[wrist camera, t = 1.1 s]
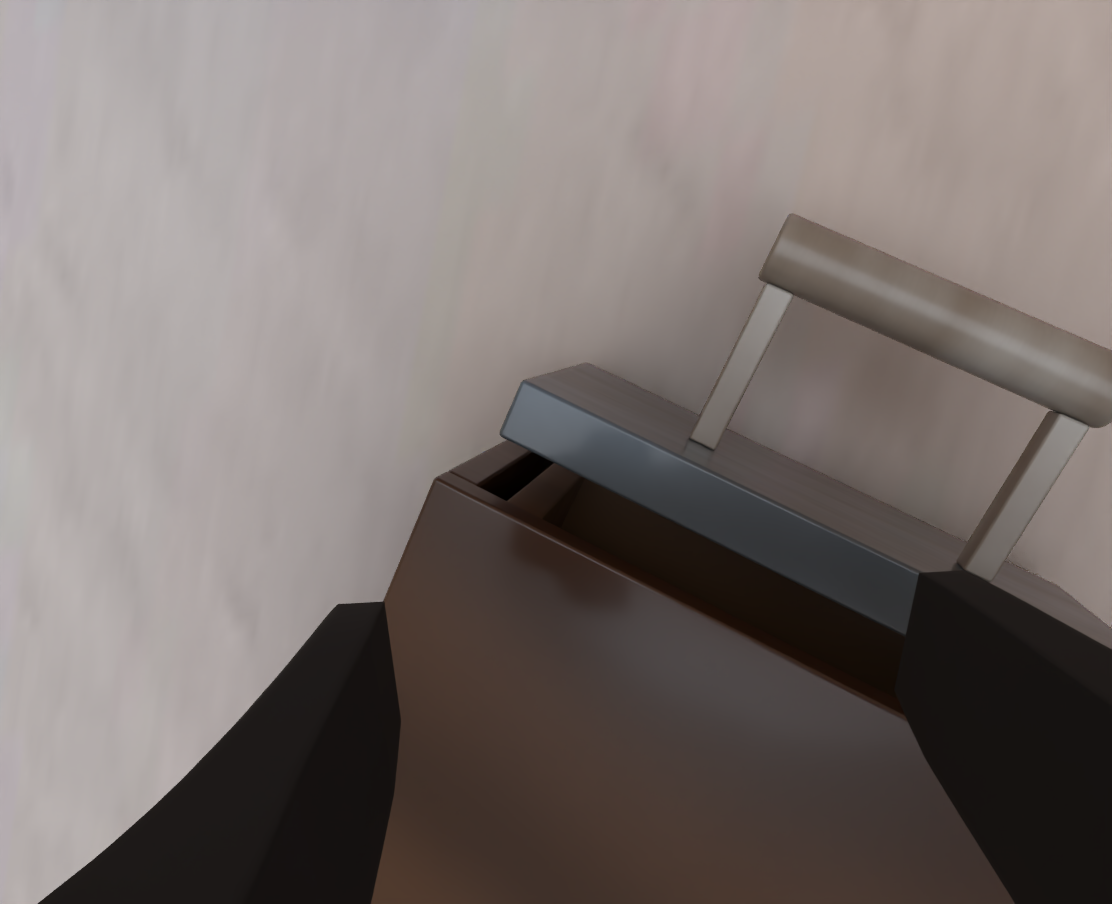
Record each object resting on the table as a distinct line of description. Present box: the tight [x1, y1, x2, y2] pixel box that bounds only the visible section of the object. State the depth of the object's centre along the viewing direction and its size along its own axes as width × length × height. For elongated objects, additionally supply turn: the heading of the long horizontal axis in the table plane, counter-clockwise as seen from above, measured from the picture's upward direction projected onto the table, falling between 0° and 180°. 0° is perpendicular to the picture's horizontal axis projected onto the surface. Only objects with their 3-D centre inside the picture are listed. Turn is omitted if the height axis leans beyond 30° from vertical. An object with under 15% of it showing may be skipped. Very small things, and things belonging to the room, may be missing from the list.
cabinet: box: [371, 440, 1015, 904], centre depth 19 cm, size 13×14×8 cm
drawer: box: [500, 214, 1112, 699], centre depth 18 cm, size 17×13×7 cm
